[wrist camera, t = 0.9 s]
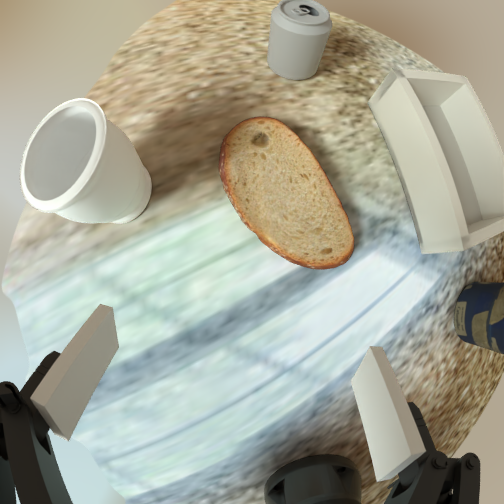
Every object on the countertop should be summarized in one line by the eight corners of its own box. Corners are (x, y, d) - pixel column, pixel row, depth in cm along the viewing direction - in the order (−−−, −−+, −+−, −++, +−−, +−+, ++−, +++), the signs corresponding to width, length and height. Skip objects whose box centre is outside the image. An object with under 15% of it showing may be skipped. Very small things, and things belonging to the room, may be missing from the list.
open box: (485, 227, 33) (523, 220, 24) (421, 254, 33) (463, 250, 24) (438, 101, 34) (465, 76, 25) (367, 102, 34) (391, 68, 25)
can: (326, 71, 34) (347, 17, 22) (290, 91, 34) (304, 32, 22) (293, 43, 34) (303, -11, 22) (256, 61, 34) (258, 2, 22)
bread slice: (349, 274, 33) (360, 275, 29) (202, 252, 33) (197, 250, 29) (359, 142, 34) (370, 130, 30) (228, 117, 34) (226, 103, 30)
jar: (93, 162, 33) (29, 117, 18) (160, 147, 33) (113, 83, 18) (91, 236, 32) (13, 220, 17) (161, 227, 32) (101, 199, 18)
